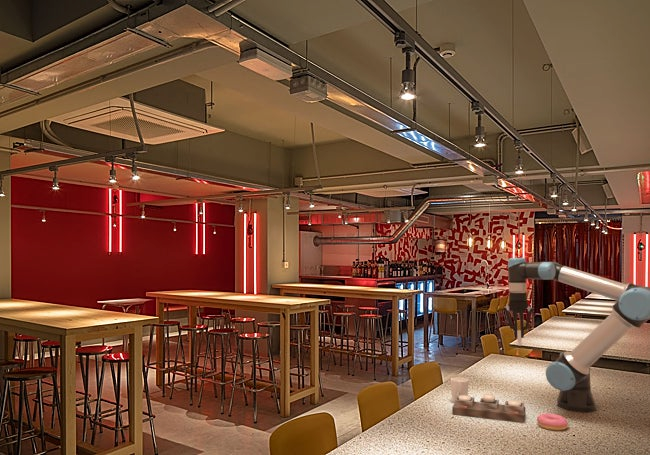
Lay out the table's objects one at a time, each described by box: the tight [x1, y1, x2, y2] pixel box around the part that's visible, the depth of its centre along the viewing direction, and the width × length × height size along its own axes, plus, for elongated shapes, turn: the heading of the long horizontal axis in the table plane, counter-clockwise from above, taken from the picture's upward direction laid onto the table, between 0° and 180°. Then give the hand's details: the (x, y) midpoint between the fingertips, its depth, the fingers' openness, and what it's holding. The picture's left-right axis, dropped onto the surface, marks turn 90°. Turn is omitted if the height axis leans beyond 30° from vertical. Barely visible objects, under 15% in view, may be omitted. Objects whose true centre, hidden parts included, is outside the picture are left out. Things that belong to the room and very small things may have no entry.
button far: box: [459, 395, 472, 401], centre depth 208 cm, size 5×5×2 cm
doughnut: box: [536, 413, 569, 431], centre depth 188 cm, size 11×11×4 cm
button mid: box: [482, 393, 496, 402], centre depth 205 cm, size 5×5×2 cm
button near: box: [507, 399, 521, 407], centre depth 200 cm, size 5×5×2 cm
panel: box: [451, 396, 527, 424], centre depth 203 cm, size 28×12×5 cm, turn 66°
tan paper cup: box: [450, 376, 469, 403], centre depth 222 cm, size 8×8×10 cm
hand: (519, 345), depth 217 cm, fingers closed
